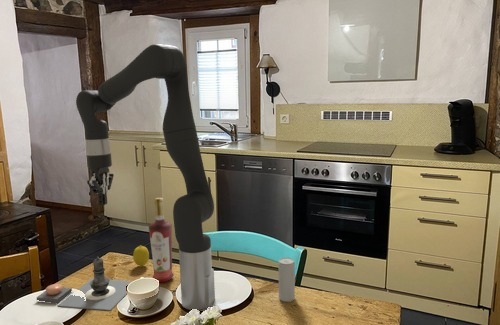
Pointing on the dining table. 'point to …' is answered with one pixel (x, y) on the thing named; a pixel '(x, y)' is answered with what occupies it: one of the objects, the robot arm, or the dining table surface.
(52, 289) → the button
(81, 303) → the slate board
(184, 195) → the robot arm
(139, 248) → the lemon
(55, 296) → the button housing
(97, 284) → the chess piece
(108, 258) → the dining table surface
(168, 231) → the liquor
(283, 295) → the beverage can
